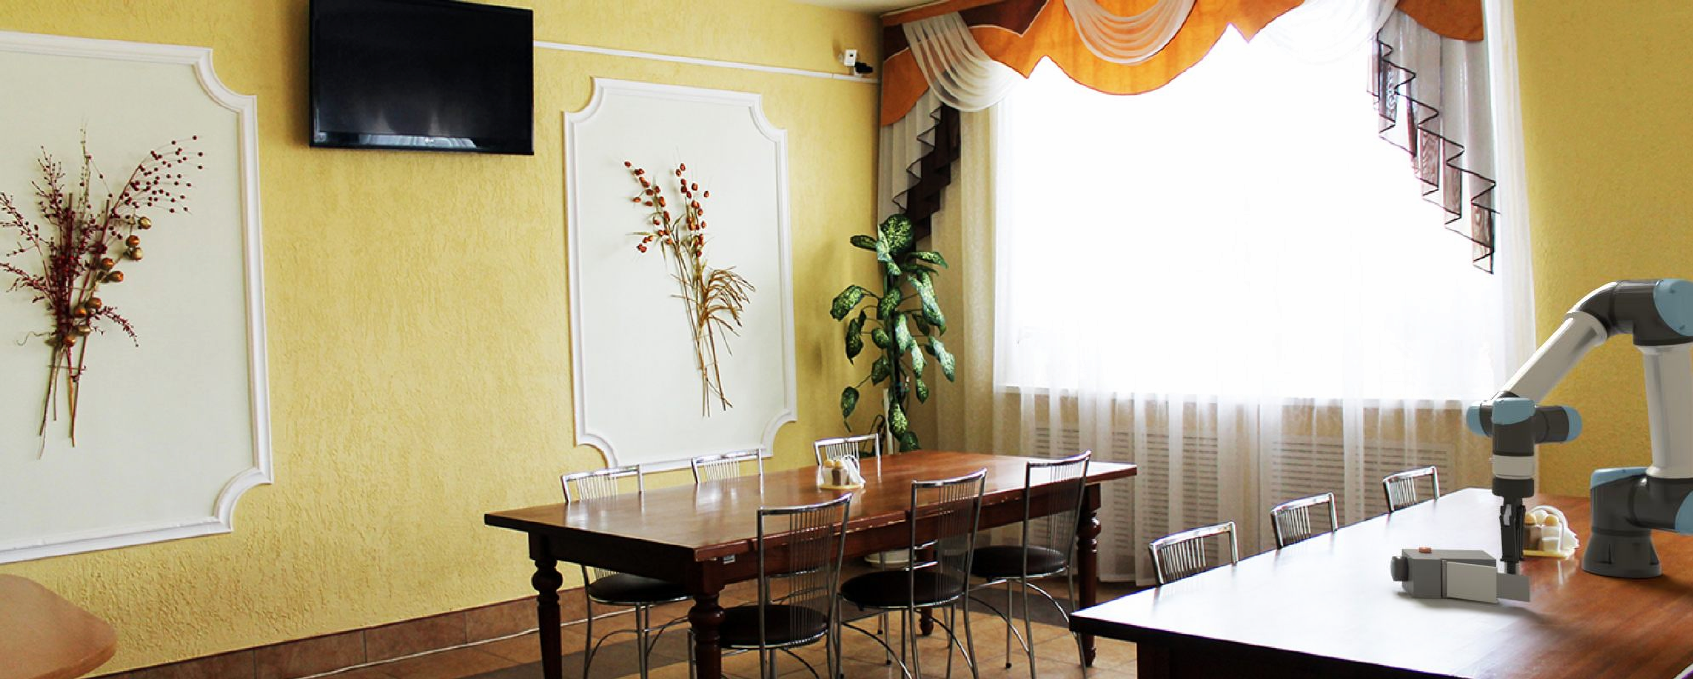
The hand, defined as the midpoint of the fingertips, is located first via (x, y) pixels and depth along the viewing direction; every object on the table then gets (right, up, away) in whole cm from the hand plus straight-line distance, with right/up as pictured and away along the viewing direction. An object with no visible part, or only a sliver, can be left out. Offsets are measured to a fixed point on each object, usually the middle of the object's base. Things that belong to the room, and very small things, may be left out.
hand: (1512, 594), depth 263 cm
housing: (-9, -2, +11) cm, 15 cm away
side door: (-5, -2, +1) cm, 5 cm away
